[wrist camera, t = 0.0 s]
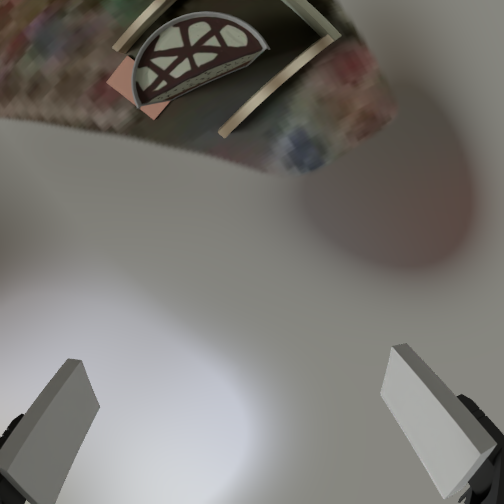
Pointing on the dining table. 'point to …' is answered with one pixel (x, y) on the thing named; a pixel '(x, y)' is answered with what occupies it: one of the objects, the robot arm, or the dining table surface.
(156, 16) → the beige u-shaped frame
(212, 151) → the dining table surface
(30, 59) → the dining table surface
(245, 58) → the food container
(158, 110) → the mat
